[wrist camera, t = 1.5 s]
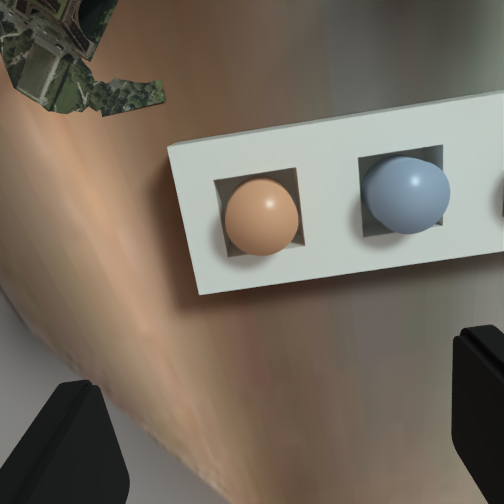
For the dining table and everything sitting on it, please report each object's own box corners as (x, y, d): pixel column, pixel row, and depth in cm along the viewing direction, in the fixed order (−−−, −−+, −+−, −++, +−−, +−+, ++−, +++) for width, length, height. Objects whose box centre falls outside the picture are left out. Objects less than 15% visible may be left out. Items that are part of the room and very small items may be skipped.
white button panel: (587, 76, 27) (642, 70, 23) (570, 219, 30) (617, 234, 26) (177, 142, 28) (166, 146, 24) (204, 273, 31) (199, 295, 28)
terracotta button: (288, 171, 26) (294, 179, 23) (296, 235, 28) (302, 250, 25) (222, 181, 26) (218, 190, 23) (233, 244, 28) (231, 260, 25)
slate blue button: (427, 149, 26) (450, 155, 23) (427, 215, 27) (449, 228, 24) (358, 160, 26) (373, 166, 23) (362, 225, 27) (377, 239, 24)
